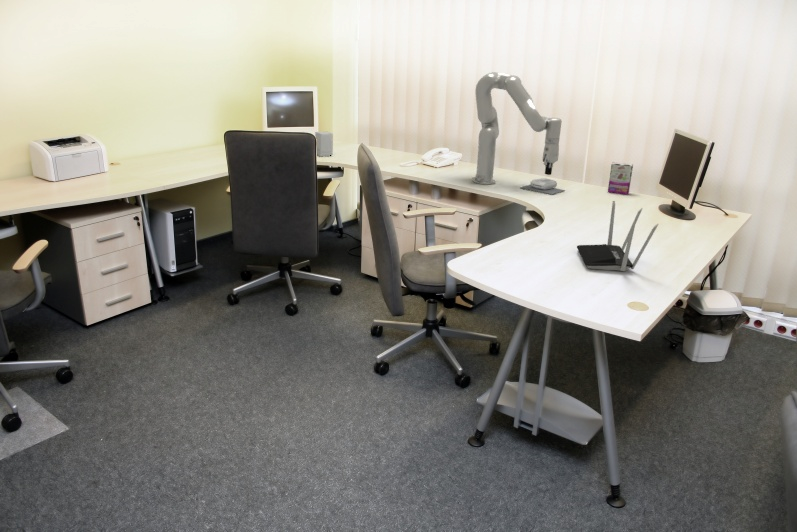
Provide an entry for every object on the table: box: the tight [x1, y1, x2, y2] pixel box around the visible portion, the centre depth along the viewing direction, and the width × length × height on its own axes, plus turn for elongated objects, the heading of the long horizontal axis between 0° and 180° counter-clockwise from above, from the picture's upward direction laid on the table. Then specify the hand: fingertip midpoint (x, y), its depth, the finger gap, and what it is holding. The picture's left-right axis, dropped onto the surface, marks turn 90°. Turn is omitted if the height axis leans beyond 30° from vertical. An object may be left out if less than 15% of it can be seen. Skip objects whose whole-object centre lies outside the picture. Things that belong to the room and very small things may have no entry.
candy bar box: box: [607, 161, 634, 196], centre depth 360 cm, size 11×5×16 cm, turn 68°
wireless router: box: [576, 200, 659, 272], centre depth 249 cm, size 34×23×20 cm
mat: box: [519, 184, 566, 196], centre depth 363 cm, size 14×20×1 cm
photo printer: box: [529, 177, 558, 190], centre depth 364 cm, size 10×4×12 cm
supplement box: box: [314, 131, 334, 157], centre depth 428 cm, size 9×9×15 cm
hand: (547, 174), depth 363 cm, fingers closed
